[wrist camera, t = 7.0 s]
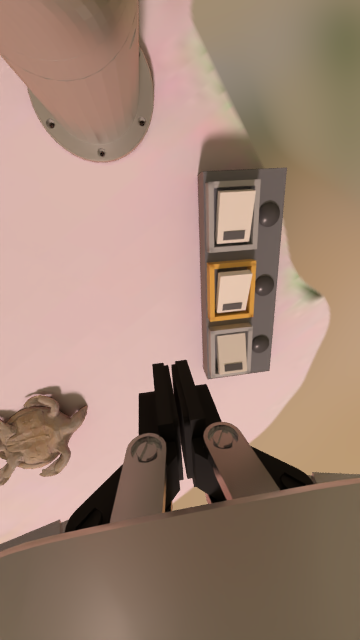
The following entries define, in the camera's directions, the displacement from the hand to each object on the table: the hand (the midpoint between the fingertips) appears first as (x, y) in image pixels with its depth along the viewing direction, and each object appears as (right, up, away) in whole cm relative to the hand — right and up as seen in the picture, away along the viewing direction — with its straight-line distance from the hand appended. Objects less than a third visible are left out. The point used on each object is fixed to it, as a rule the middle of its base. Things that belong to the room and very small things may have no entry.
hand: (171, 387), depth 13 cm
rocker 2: (+8, -1, +24) cm, 25 cm away
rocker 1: (+7, +15, +17) cm, 24 cm away
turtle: (-23, -13, +30) cm, 40 cm away
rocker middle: (+7, +7, +21) cm, 23 cm away
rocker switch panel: (+8, +9, +25) cm, 28 cm away
